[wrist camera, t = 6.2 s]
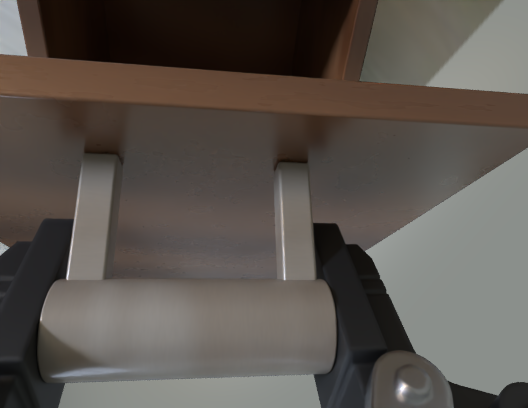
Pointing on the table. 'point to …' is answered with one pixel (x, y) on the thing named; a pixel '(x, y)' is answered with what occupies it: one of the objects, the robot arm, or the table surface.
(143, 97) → the lid
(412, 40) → the table surface
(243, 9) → the bread box
